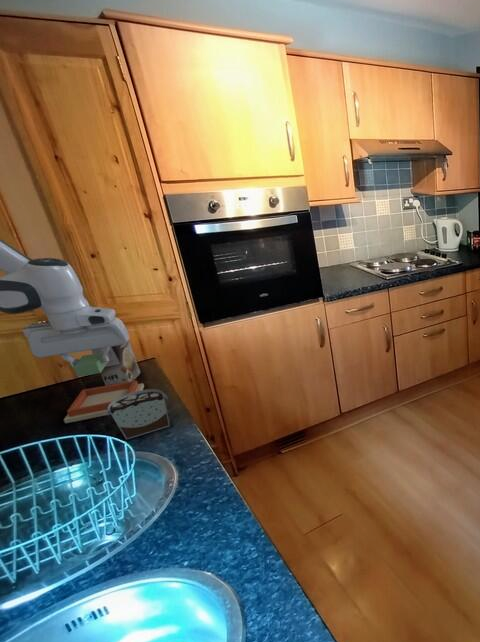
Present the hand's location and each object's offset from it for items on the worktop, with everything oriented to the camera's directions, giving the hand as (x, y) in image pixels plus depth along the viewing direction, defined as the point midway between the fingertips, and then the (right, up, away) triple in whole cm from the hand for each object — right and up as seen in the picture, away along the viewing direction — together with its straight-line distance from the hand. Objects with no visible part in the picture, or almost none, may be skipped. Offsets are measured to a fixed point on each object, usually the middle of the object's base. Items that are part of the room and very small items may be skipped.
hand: (91, 363), depth 127 cm
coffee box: (-6, -7, +18) cm, 20 cm away
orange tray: (0, -12, +5) cm, 13 cm away
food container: (+21, -17, -6) cm, 27 cm away
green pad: (0, -1, +1) cm, 2 cm away
